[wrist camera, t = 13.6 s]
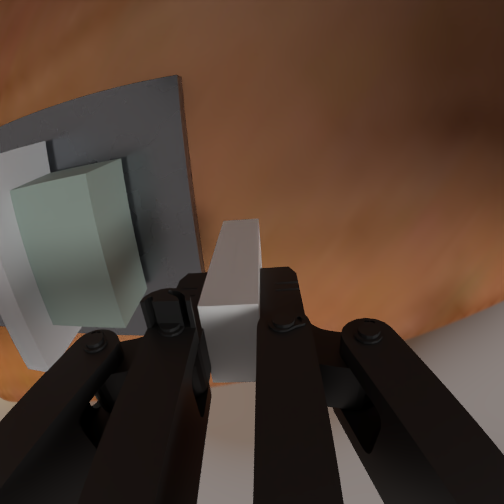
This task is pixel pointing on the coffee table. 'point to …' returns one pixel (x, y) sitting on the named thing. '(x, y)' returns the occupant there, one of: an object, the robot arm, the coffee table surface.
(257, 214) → the coffee table surface
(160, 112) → the vise
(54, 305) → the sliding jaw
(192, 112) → the coffee table surface
